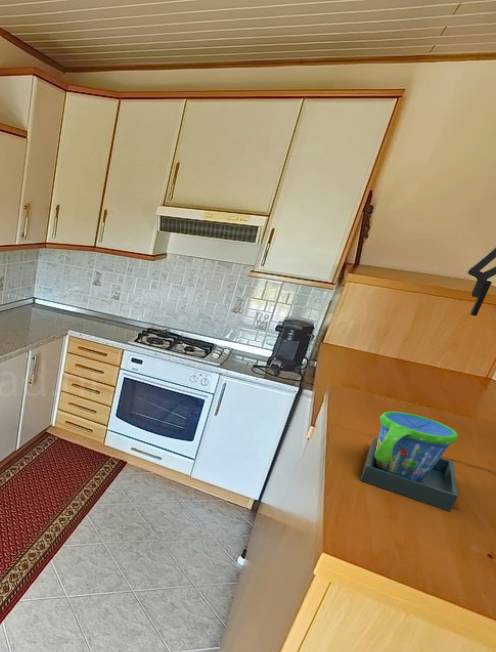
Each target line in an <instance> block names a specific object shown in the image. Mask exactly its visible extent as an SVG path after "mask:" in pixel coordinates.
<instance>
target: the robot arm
mask: <svg viewBox="0 0 496 652" xmlns="http://www.w3.org/2000/svg"><path fill="white" fill-rule="evenodd" d="M494 259H496V246H495V247H494V248H492V249H491V250H490V251H489V252H488V253H486V254H485V255H484V256H483V257H482V258H481V259H479V261H477V262H475V264H473V266H471V267H470V268H469V269H468V270H467V273H466V274H468V275H469V276H472V277H474V278H475V279H476V281H475V284H474V286H473V288H472V290H471V293H470V296H471V297H472V298H476V299H475V302H474V304H473V306H472V308H471V311H470V313H469V315H470V316H474V317H477V316H478V313H479V312H480V309H481V307H482V305H483V304H484V300H485V298H486V297H487V295H488V291H489V290H490V288H491V286H492V283H493V281H492V280H491V281H490V280H489V279H490V278H492V277H494V276H496V265H494V266H492V267H491V268H489V269H487V270H485V271H482V270H483V269H484V268H485V267H486V266H488V264H490V263H491V262H492V261H494Z"/></svg>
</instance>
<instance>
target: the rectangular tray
mask: <svg viewBox="0 0 496 652" xmlns="http://www.w3.org/2000/svg"><path fill="white" fill-rule="evenodd" d="M377 442H378V438H377V437H373V439H372V441H371V444H370V446H369V449H368V451H367V455H366V459H365V462H364V465H363V469H362V473H361V476H360V480H359V481H360V482H363V483H365V484H369V485H371V486H374V487H378V488H380V489H383V490H386V491H389V492H392V493H395V494H397V495H401V496H404V497H406V498H409V499H412V500H415V501H418V502H420V503H424V504H426V505H430V506H433V507H435V508H438V509H441V510H444V511H447V512H450V513H451V510H452V509H453V507H454V505H455V503H456V502H457V499H458V497H459V495H458V489H457V480H456V472H455V466H454V465H455V463H454V461H453V460H450V459H448V458H443V457H440V459H439V460H438V461H437V463H436V464H435V465H434V466H433V468H432V469H431V470H430V472H429V473H428V474H427V476H426V477H425V478H424V479H423V480H420V481H413V480H410V479H407V478H404V477H401V476H398V475H395V474H392V473H389V472H386V471H383V470H380V469H378V468H377V466H375V465H373V463H374V455H375V451H376V446H377Z"/></svg>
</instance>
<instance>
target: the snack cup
mask: <svg viewBox="0 0 496 652" xmlns="http://www.w3.org/2000/svg"><path fill="white" fill-rule="evenodd" d="M379 422H380V429H379V434H378V438H377V439H378V442H377V446H376V451H375V455H374V463H373V465H375V466H377V468H378V469H380V470H383V471H386V472H389V473H392V474H395V475H398V476H401V477H404V478H407V479H410V480H413V481H420V480H423V479H424V478H425V477H426V476H427V474H428V473H429V472H430V470H431V469H432V468H433V466H434V465H435V464H436V463H437V461H438V460H439V459H440V458H442V457H443V455H444V453H445V452H446V451H447V449H448V448H449V446H451V445H452V444H454V443H455V442H456V441H457V439H458V438H459V435H458V433H457V431H456V430H455V429H453V428H452V427H451V426H449V425H446V424H444V423H442V422H440V421H437V420H435V419H431V418H428V417H425V416H421V415H418V414H413V413H410V412H409V413H408V412H402V411H385V412H383V413H382V414H381V415H380V416H379Z"/></svg>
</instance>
